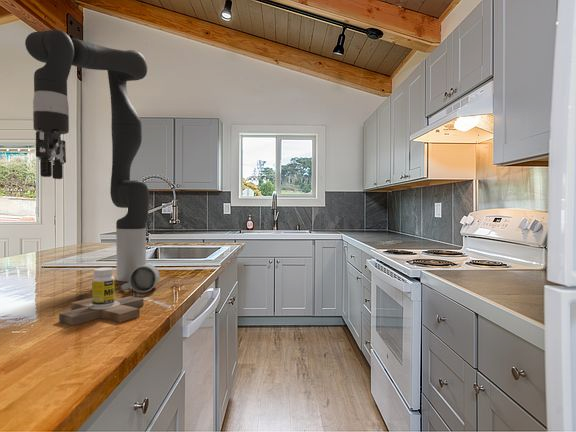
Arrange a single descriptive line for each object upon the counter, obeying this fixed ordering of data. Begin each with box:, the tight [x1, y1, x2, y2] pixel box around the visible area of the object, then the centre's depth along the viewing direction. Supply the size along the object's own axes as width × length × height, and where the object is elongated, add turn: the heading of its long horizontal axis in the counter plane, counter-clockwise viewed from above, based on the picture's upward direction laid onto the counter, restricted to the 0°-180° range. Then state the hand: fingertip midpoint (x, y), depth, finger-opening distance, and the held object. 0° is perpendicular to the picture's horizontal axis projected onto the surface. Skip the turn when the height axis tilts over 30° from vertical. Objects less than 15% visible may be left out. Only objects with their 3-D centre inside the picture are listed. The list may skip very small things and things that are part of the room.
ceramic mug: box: [120, 263, 161, 294], centre depth 112 cm, size 11×8×8 cm
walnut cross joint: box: [58, 295, 145, 326], centre depth 88 cm, size 18×18×2 cm
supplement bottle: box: [91, 267, 116, 307], centre depth 88 cm, size 5×5×8 cm
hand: (52, 177), depth 95 cm, fingers open, 8 cm apart
